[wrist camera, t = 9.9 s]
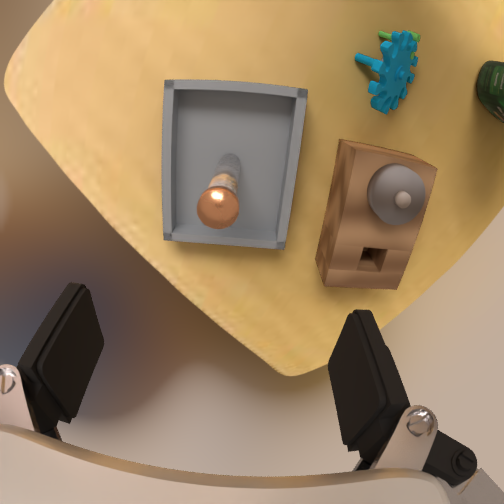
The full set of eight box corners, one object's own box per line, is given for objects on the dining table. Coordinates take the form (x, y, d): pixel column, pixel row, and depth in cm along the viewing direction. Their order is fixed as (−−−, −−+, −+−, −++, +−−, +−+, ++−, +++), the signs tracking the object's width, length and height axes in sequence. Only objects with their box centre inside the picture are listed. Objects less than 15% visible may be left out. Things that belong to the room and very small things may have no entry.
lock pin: (216, 149, 31) (196, 188, 20) (244, 151, 32) (240, 191, 21) (215, 175, 33) (196, 227, 22) (242, 177, 33) (237, 230, 22)
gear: (390, 131, 29) (371, 85, 21) (348, 109, 32) (317, 64, 24) (429, 65, 26) (419, 10, 18) (388, 47, 29) (368, -5, 20)
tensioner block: (339, 139, 32) (366, 156, 24) (412, 154, 32) (451, 176, 25) (315, 258, 40) (329, 301, 32) (381, 264, 40) (404, 303, 33)
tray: (173, 80, 28) (164, 79, 25) (302, 89, 29) (308, 89, 26) (170, 226, 37) (163, 240, 34) (281, 235, 38) (284, 249, 35)
